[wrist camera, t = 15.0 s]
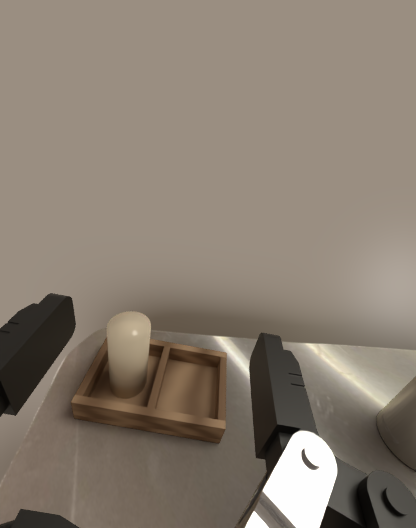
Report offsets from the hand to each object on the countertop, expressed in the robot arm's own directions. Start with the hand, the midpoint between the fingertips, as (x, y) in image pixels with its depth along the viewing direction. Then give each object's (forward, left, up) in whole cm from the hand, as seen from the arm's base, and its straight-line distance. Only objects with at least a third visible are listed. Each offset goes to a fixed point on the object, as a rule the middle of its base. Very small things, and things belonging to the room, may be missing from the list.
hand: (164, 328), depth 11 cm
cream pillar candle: (+7, -15, -29) cm, 33 cm away
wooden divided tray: (+2, -15, -30) cm, 34 cm away
